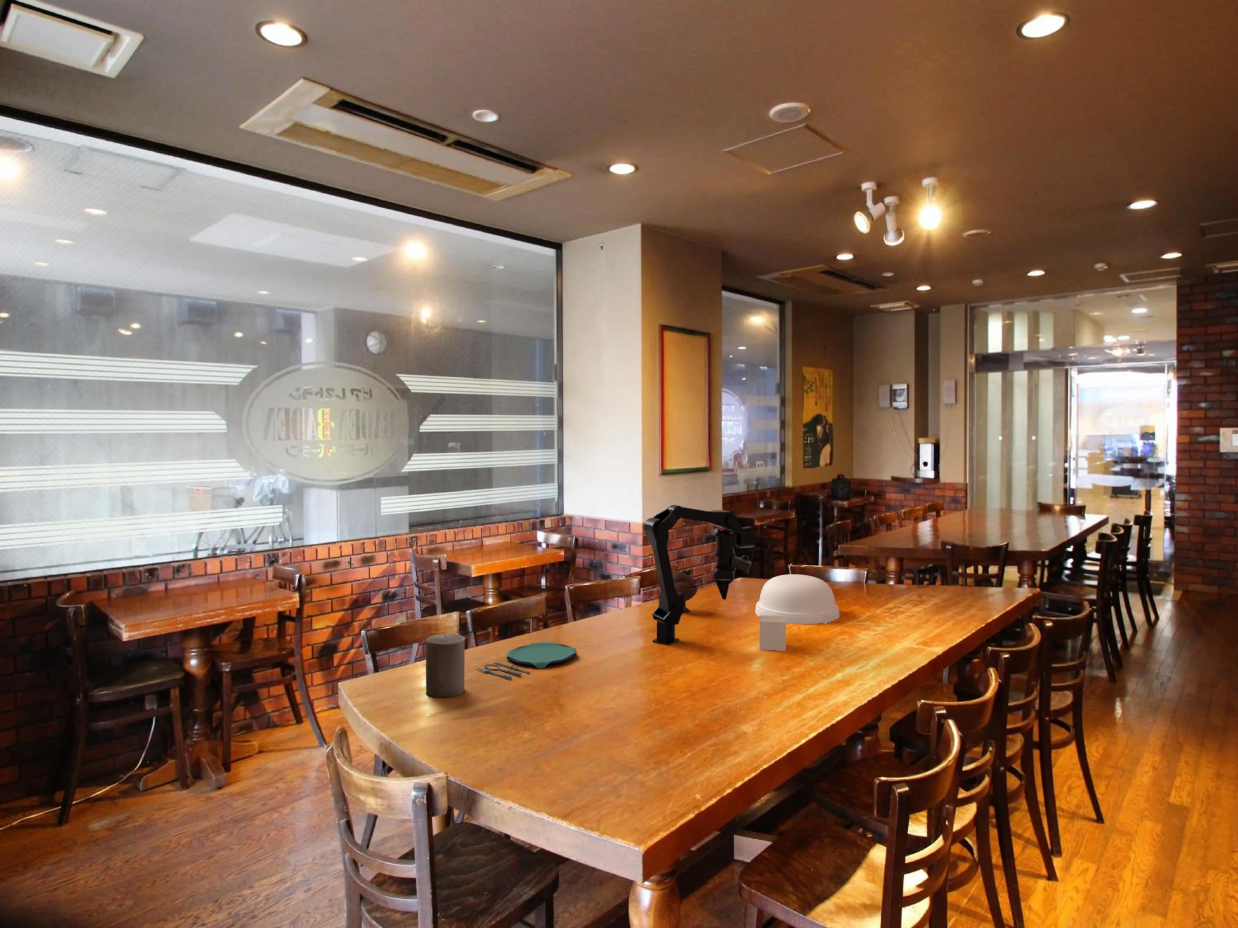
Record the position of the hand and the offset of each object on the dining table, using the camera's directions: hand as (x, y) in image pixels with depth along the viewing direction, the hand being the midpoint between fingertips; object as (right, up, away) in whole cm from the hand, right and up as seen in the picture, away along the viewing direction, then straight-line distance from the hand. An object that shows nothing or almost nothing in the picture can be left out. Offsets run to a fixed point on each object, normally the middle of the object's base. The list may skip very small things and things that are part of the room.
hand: (725, 596), depth 240 cm
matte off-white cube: (+12, -13, -14) cm, 23 cm away
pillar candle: (-79, -15, -53) cm, 96 cm away
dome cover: (+30, -12, +28) cm, 43 cm away
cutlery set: (-61, -14, -28) cm, 69 cm away
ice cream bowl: (-11, -12, +31) cm, 35 cm away
